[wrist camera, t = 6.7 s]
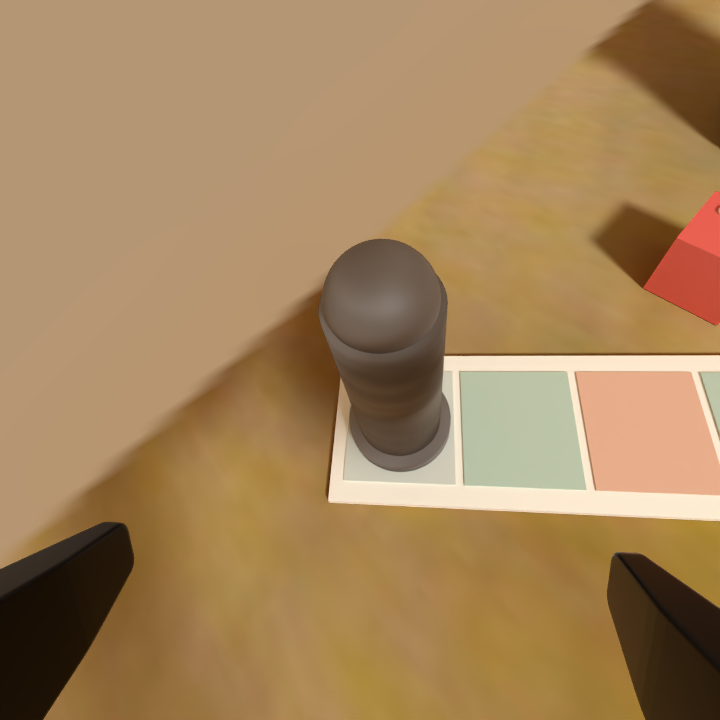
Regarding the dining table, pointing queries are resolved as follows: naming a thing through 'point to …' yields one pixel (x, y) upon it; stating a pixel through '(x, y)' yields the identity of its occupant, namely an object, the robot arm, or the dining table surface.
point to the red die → (693, 266)
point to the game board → (560, 439)
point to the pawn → (389, 351)
